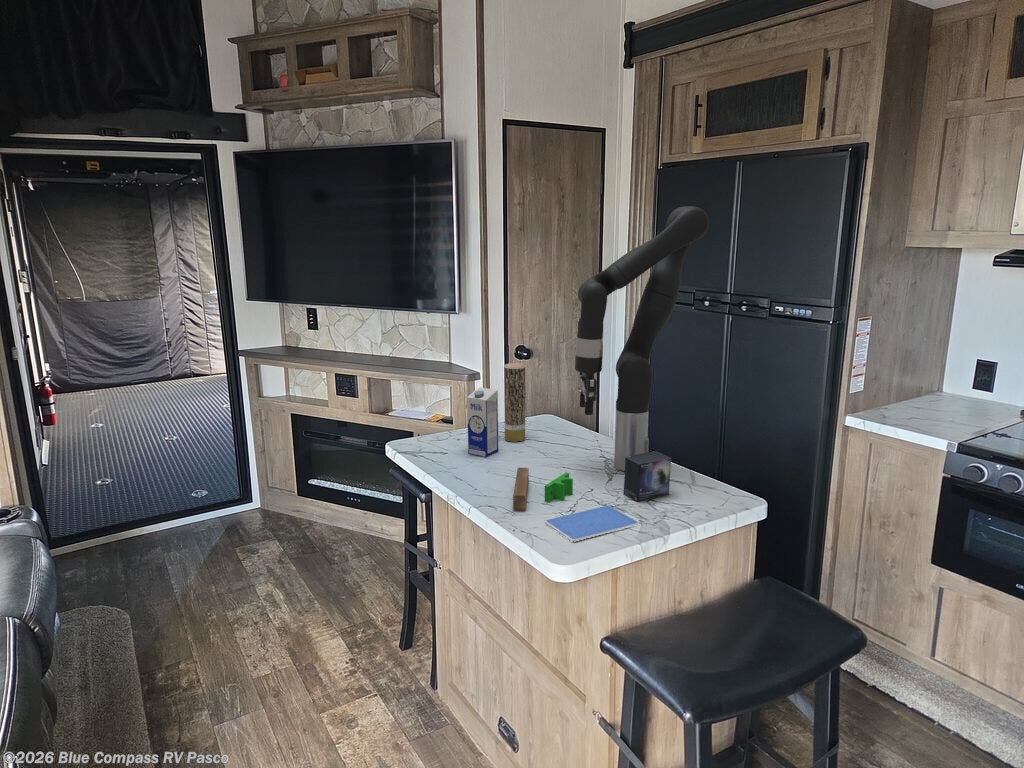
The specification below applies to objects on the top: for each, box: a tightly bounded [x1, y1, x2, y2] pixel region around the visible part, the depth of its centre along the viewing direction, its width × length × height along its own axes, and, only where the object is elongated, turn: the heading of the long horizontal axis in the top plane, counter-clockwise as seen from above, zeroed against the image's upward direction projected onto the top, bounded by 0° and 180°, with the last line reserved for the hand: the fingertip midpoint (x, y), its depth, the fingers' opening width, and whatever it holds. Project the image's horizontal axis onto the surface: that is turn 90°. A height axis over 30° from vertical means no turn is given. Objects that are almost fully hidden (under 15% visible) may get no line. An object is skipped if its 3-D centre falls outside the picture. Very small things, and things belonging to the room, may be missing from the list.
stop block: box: [512, 467, 530, 512], centre depth 176 cm, size 3×20×4 cm, turn 176°
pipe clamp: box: [544, 472, 574, 503], centre depth 175 cm, size 11×4×5 cm, turn 147°
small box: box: [623, 450, 672, 503], centre depth 175 cm, size 11×6×10 cm, turn 118°
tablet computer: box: [544, 505, 640, 541], centre depth 159 cm, size 19×13×1 cm, turn 119°
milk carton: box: [466, 386, 499, 458], centre depth 208 cm, size 7×7×20 cm
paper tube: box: [503, 362, 526, 443], centre depth 220 cm, size 7×7×25 cm
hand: (585, 410), depth 191 cm, fingers open, 8 cm apart
